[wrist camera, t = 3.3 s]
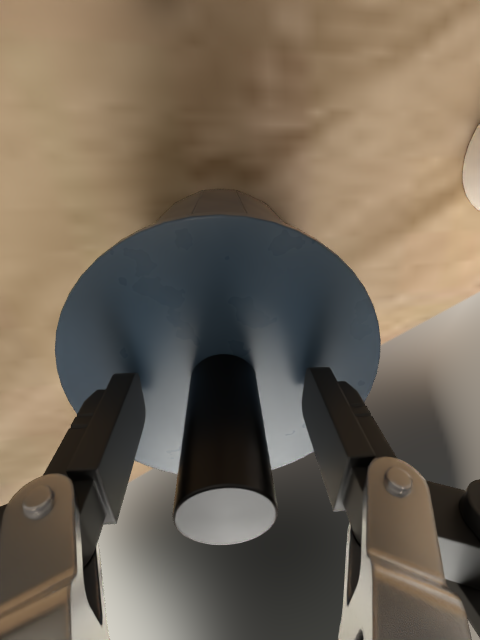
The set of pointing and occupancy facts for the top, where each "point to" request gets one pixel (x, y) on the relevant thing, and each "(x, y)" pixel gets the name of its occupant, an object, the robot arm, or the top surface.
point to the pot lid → (218, 354)
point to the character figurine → (473, 170)
